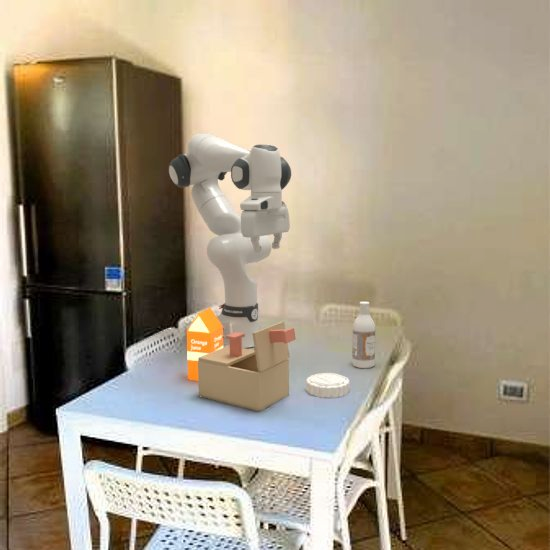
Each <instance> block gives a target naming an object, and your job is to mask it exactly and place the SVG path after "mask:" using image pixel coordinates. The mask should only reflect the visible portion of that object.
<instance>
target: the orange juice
mask: <svg viewBox="0 0 550 550" xmlns="http://www.w3.org/2000/svg"><path fill="white" fill-rule="evenodd" d="M221 348H223V326H222V325H221V323H220V322H219V320H218V319H217V315H216V314H215V312H214V311H213V310H212V307H208V308H207V309H204V310H203V311H200V312H199V313H197V314H196V316H195V318H194V320H193V321H192V322H191V324H190V325H189V327H188V328H187V330H186V350H187V351H186V352H187V354H186V357H187V377H188V378H187V379H189V380H190V381H197V382H198V358H199V357H201V356H204V355H206V354H209V353H211V352H214V351H216V350H219V349H221Z"/></svg>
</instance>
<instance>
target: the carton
mask: <svg viewBox="0 0 550 550" xmlns="http://www.w3.org/2000/svg"><path fill="white" fill-rule="evenodd" d="M197 382H198V383H197V384H198V388H197V389H198V397H199V396H201V397H200V398H203V397H204V398H203V399H207V398H208V399H207V400H211V399H212V400H211V401H215V400H216V402H219V403H224V404H227V405H231V406H236V407H238V408H239V407H240V408H243V409H247V410H250V411H255V412H258V413H259V412H262V411H264V410H265V409H267V408H269V407H270V406H272V405H274V404H276V403H277V402H280V401H281V400H283V399H284V398H287V397H288V396H290V359H289V358H288V359H286V360H284V361H282V362H279V363H277V364H275V365H273V366H271V367H269V368H267V369H265V370H263V371H258V367H257V360H256V354H255V355H253V356H251V357H248V358H246V359H244V360H242V361H239V362H237V363H235V364H232V365H230V366H228V367H227V366H222V365H217V364H213V363H208V362H203V361H199V360H198V381H197Z"/></svg>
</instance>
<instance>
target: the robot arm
mask: <svg viewBox="0 0 550 550" xmlns="http://www.w3.org/2000/svg"><path fill="white" fill-rule="evenodd" d="M168 173H169V176H170V179H171V180H172V182H173V184H174V185H175V186H177V187H178V188H186V187H187V188H188V187H190V186H192V187H191V192H190V193H191V194H190V195H191V197H192V200H193V202H194V205H195V207H196V209H197V211H198V213H199V214H200V216H201V217H202V219H203V221H204V223H205V224H206V226H207V228H208V230H210V232H211V233H213V234H215V235H217V236H214V237H213V238H212V239H210V240H209V241H208V244H207V247H206V255H207V258H208V260H209V261H210V263H211V264H212V265H214V266H215V267H216V268H217V269H218V271H219V272H220V274H221V276H222V281H223V285H224V303H223V304H222V305H218V307H219V308H218V309H219V310H221V312H220V314H219V315H218V316H217V315H216V317H217V319H218V320H219V322H220V323H221V325H222V326H223V348H224V347H227V346H229V345H230V339H226V336H227V335H229V334H232V333H235V332H238V333H244V334H245V337H242V348H246V349H249V348H252V347H254V341H253V335H252V333H254V332H256V331H259V330H260V328H259V322H258V321H259V320H258V319H259V304H258V302H257V301H258V300H257V299H258V296H257V295H258V293H257V292H258V291H257V289H258V288H257V287H258V286H257V282H256V280H255V278H253V277H252V276H250V275H249V274H248V272H247V268H246V265H247V264H252V263H253V264H254V263H258V262H260V261H262V260H265V259H267V258H268V257H269V256H270V254H271V253H272V249H273V250H274V249H275V250H277V249H280V246H281V245H280V243H281V241H282V238H283V233H288V232H289V231H290V228H291V226H290V224H291V223H290V214H289V209H288V208H287V204H286V203H285V201H284V200H282V199H283V198H282V195H283V194H282V193H283V190H284V189H285V188H286V187H287V186H288V184H289V183H290V181H291V177H292V169H291V166H290V164H289V163H288V162H287V160H286V159H285V158H284V157H283V156H281V153H280V150H279V148H278V147H276V146H274V145H270V144H269V145H268V144H255V145H253V146H252V147H251V150H248V149H245V148H244V147H240V146H238V145H236V144H234V143H232V142H229V141H228V140H225V139H223V138H221V137H219V136H217V135H214V134H211V133H205V132H200V133H199V132H198V133H196V134H194V135H193V136H192V137H190V139H189V141H188V144H187V153H183V154H182V153H180V154H178V156H176V157H175V158H173V159H172V160H171V161H170V163H169V165H168ZM227 173H230V177H231V182H232V183H233V185H234V186H235V187H236V188H237V189H238V190H242V191H250V195H249V197H247V198H245V199H244V200H243V201H241V202H240V207H239V208H240V210H241V213H240V215H239V213H237V211H236V210H235V208H234V207H233V206H232V204H231V202H230V201H229V199H228V198H227V196H226V195H225V194H224V192H223V191H222V189H221V187H220V185H219V181H224V180H225V176H226V175H227ZM271 235H273V242H272V241H271V238H270V237H269V236H271Z"/></svg>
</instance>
